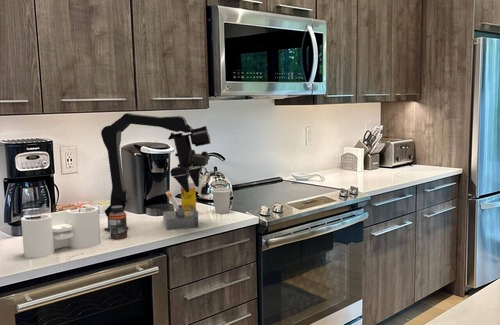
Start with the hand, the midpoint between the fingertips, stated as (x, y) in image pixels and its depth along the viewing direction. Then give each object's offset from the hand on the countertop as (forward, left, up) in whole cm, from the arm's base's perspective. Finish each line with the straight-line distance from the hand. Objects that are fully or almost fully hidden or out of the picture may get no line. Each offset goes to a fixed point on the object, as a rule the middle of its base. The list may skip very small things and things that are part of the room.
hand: (192, 189), depth 185 cm
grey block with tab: (-9, +1, -15) cm, 17 cm away
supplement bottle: (-13, -25, -15) cm, 32 cm away
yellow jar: (-19, +15, -15) cm, 28 cm away
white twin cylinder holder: (-16, -44, -15) cm, 49 cm away
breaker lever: (-9, +1, -10) cm, 14 cm away
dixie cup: (-10, +26, -15) cm, 32 cm away
